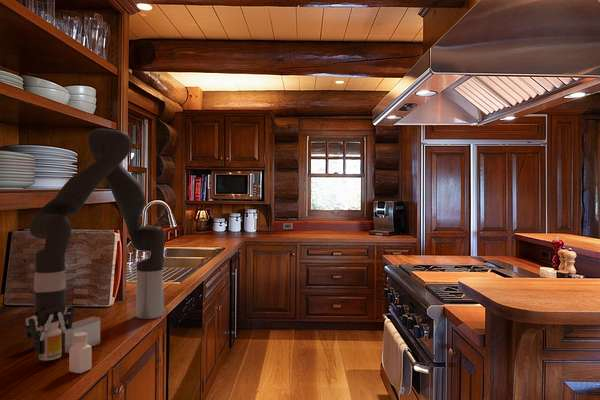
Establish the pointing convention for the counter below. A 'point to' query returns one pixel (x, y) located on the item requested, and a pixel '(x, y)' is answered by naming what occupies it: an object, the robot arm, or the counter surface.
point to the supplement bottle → (52, 342)
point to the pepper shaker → (80, 354)
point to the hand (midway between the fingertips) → (50, 349)
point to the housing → (85, 325)
